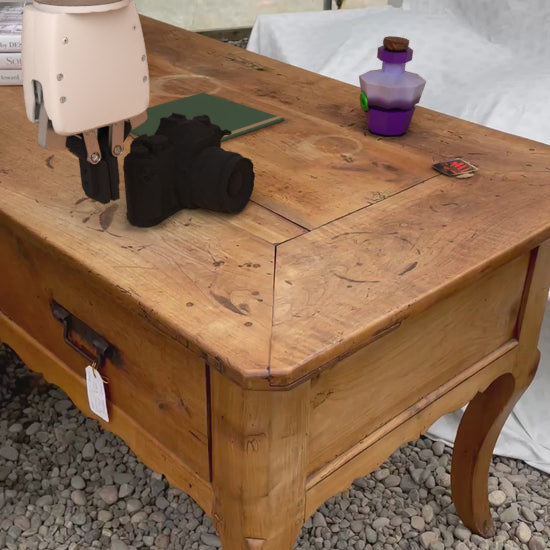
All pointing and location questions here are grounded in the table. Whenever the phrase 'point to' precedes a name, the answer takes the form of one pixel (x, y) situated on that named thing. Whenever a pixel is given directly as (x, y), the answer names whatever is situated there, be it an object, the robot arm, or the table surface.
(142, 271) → the table surface
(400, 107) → the potion bottle
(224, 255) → the table surface
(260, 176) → the table surface
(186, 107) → the book
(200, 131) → the film camera
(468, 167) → the matchbox
